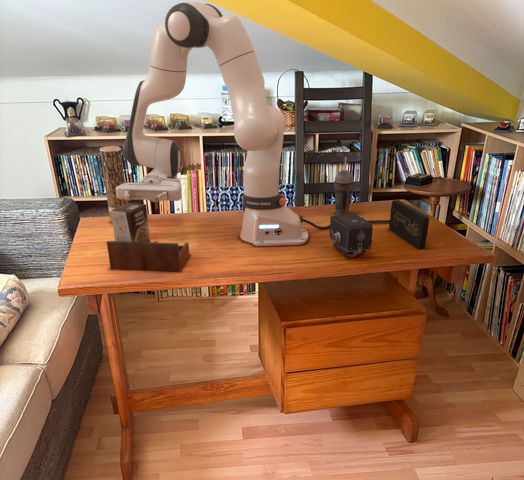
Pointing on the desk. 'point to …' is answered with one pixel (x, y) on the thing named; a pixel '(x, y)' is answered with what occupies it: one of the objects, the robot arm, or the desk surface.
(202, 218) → the desk surface
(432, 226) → the desk surface
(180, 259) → the dark brown wooden box
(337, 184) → the beverage cup
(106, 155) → the wooden log
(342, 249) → the camera
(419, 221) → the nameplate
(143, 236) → the coffee box
